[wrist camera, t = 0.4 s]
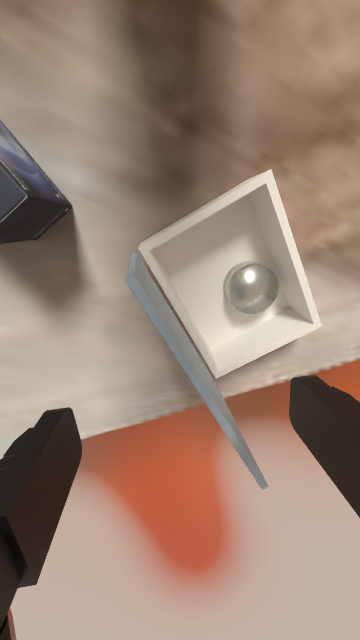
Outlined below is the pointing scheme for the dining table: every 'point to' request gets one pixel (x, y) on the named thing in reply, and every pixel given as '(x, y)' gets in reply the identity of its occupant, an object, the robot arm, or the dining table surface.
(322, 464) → the robot arm
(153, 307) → the lid
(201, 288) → the open white box
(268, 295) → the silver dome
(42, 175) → the small box
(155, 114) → the dining table surface
